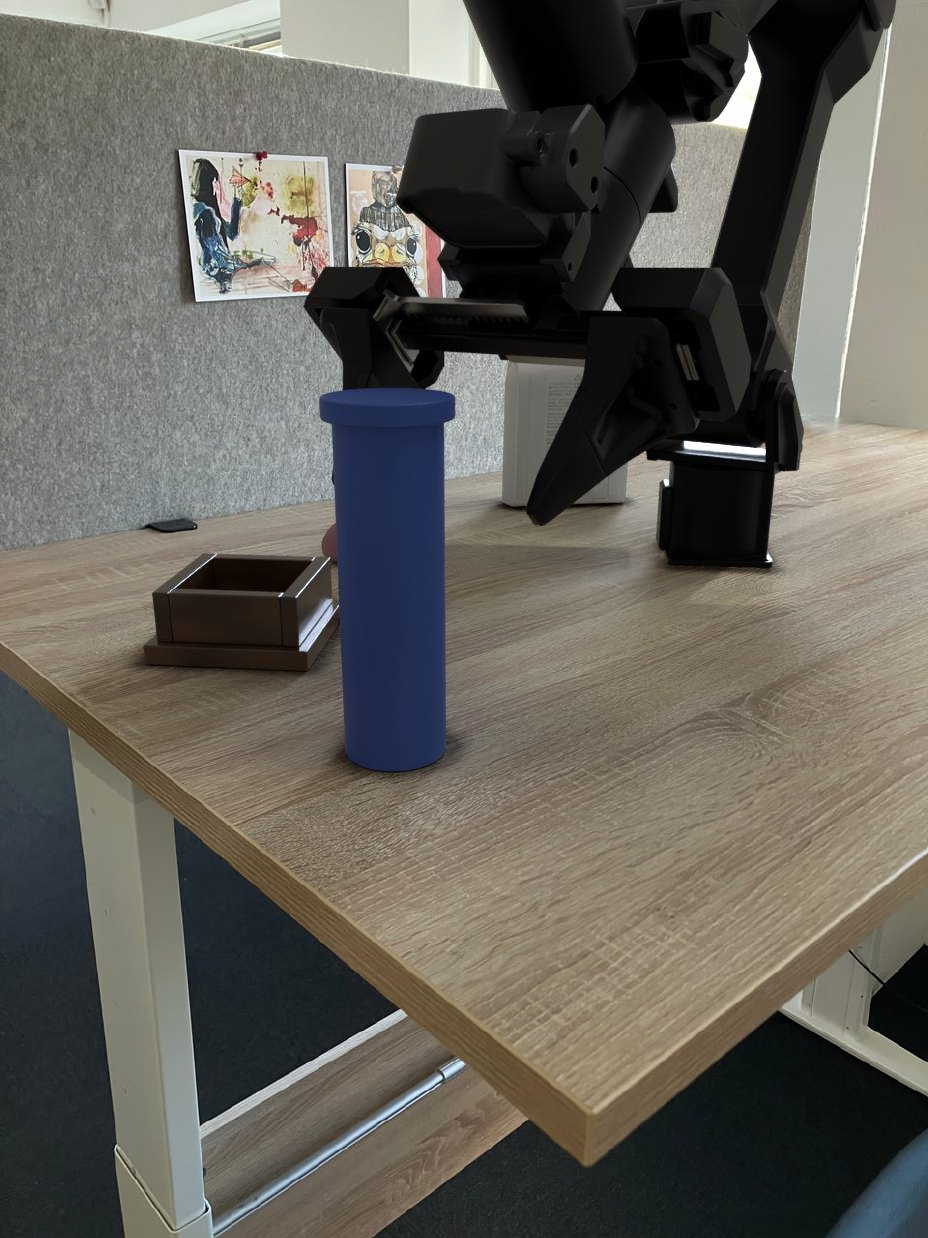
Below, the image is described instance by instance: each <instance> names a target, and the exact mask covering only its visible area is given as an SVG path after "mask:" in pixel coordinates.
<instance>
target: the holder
mask: <svg viewBox="0 0 928 1238" xmlns="http://www.w3.org/2000/svg"><path fill="white" fill-rule="evenodd" d="M331 563H332V561H331V560H330V557H325V556H308V555H307V556H303V555H302V556H301V555H271V554H240V553H239V554H237V553H236V554H235V553H203V552H202V554H200V555H199V556H198V557H196V558H195V559H193V561H191V562H190V563H188V564H187V565H186V566H185V567H183V568H182V569H181V570H179V571H178V572H177V573H176V574H174V575H173V576H172V577H170V578H169V579H168V580H166V581H165V582H164V583H163V584H161V585H160V586H159V587H157V588H156V589H155V590H154V591H152V592H151V596H152V597H151V598H152V607H153V615H154V616H153V617H154V624H155V635H153V636H152V637H151V638H150V639H149V640H148V641H147V642H146V643H144V644H143V647H142V648H143V657H144V664H145V665H154V666H177V667H179V666H180V667H200V668H201V667H204V668H227V669H251V670H252V669H253V670H274V671H275V670H276V671H278V670H279V671H300V672H301V671H302V672H307V671H309V669H310V668H311V666H312V665H313V663H314V662H315V660H316V659H317V657H319V654H320V653H321V652H322V650H323V649H324V647H325V645H326V644H327V642H328V641H329V640H330V638H331V636H332V635H333V633H334V632H335V630H336V629H337V627H338V626H339V625H340V612H339V598H336V599H335V598H333V585H332V583H333V582H332V564H331Z"/></svg>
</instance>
